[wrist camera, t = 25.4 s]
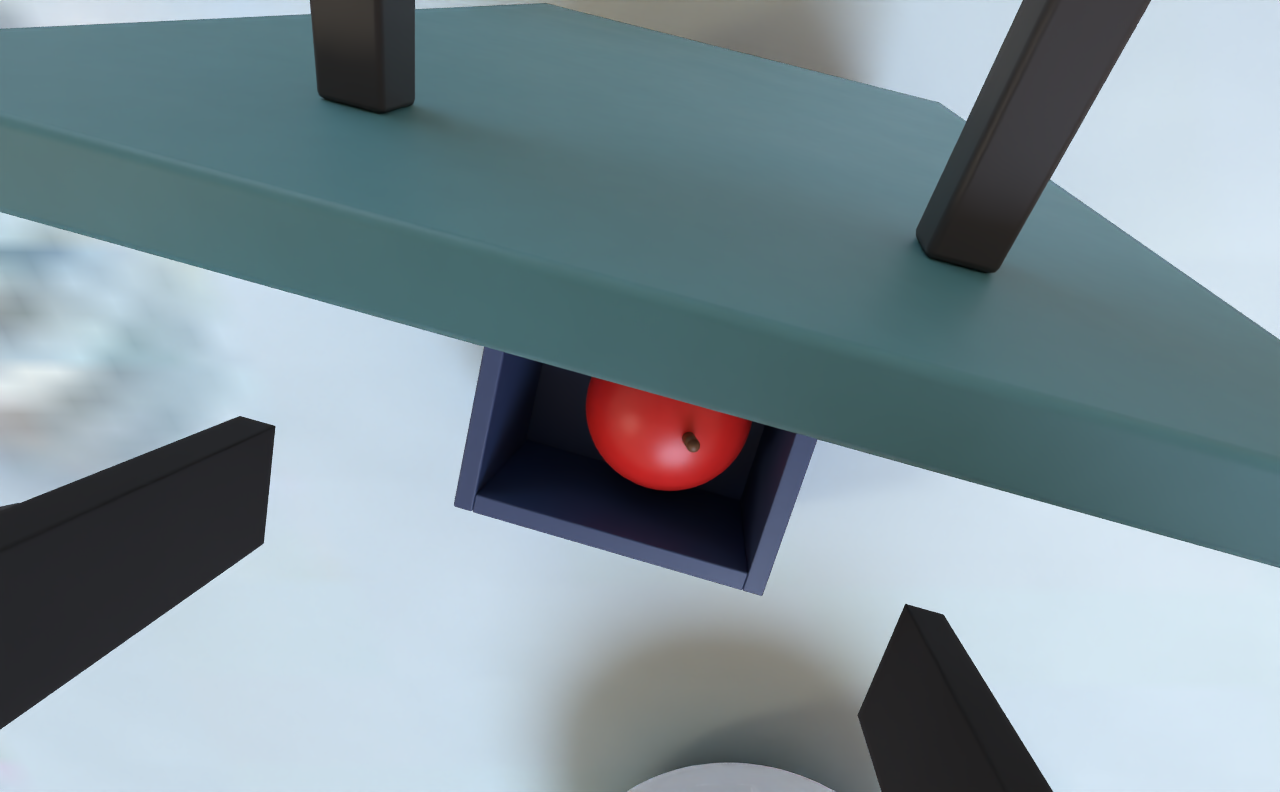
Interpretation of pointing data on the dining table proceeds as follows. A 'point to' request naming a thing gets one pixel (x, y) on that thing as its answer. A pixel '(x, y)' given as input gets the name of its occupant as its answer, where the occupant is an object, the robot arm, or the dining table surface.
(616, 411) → the apple
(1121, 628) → the dining table surface
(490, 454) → the lunchbox
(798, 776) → the serving bowl
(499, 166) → the lid
